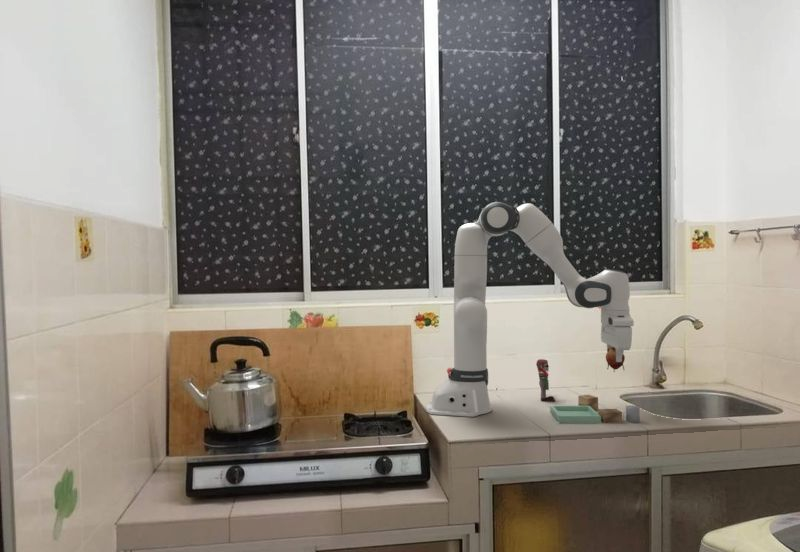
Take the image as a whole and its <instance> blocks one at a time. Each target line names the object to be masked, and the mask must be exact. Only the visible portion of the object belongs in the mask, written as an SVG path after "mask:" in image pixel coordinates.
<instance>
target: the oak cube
mask: <svg viewBox="0 0 800 552" xmlns="http://www.w3.org/2000/svg"><path fill="white" fill-rule="evenodd" d="M577 400H578V401H577V403H578V405H577V406H590V407H591V408H592V409H594V410H595V411H596V412H598V409H599V397H598V396H595V395H592V394H581V395H578V399H577Z"/></svg>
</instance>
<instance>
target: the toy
mask: <svg viewBox="0 0 800 552" xmlns="http://www.w3.org/2000/svg"><path fill="white" fill-rule="evenodd" d="M536 368H537V371H538V377H539V381H538V382H539V387H540V401H541V402H545V403H556V399H555V397H554V396H553V395H549V396H547V391H549V387H550V386H549V384H550V383H549V368H550V366H549V361H548V360H547V359H545V358H544V359H543V358H542V359H540V358H539V359H537V360H536Z"/></svg>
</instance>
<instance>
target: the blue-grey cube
mask: <svg viewBox="0 0 800 552" xmlns="http://www.w3.org/2000/svg"><path fill="white" fill-rule="evenodd" d="M625 421H626V422H627V423H629V424H639V423H641V408H640V406H636V405H626V406H625Z"/></svg>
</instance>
